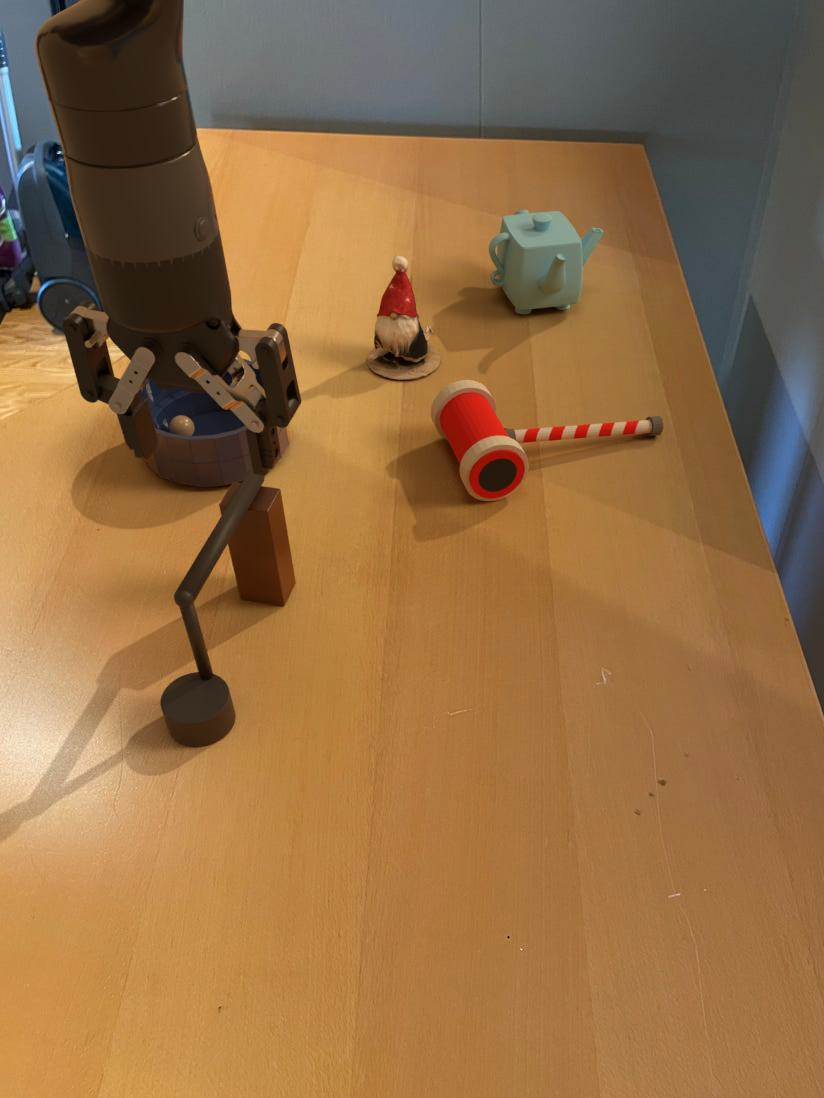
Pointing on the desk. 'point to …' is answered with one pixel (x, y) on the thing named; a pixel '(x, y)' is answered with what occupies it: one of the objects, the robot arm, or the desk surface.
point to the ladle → (202, 697)
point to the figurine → (401, 332)
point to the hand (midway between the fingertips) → (205, 460)
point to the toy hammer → (504, 438)
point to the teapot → (541, 260)
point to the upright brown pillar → (262, 548)
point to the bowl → (201, 437)
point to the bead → (181, 426)
